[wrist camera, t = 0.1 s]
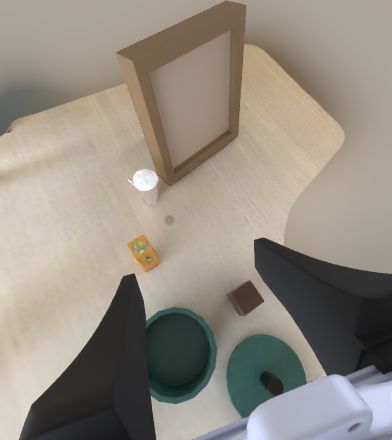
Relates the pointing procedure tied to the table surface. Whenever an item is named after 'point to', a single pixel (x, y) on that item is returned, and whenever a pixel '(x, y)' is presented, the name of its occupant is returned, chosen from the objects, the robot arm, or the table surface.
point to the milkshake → (146, 186)
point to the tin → (178, 355)
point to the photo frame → (188, 87)
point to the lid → (262, 372)
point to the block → (245, 298)
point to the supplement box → (143, 253)
